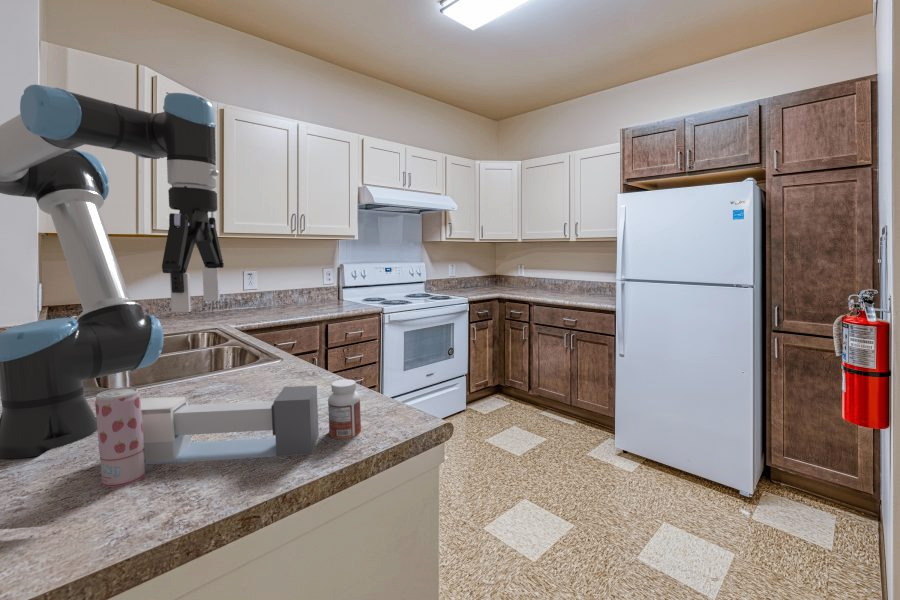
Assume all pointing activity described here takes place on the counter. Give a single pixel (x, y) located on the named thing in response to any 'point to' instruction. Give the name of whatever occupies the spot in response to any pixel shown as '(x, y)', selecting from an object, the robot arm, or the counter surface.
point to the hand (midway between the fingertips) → (197, 306)
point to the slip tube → (224, 418)
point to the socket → (296, 420)
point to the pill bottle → (344, 410)
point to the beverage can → (120, 436)
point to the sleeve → (162, 428)
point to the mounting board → (227, 450)
